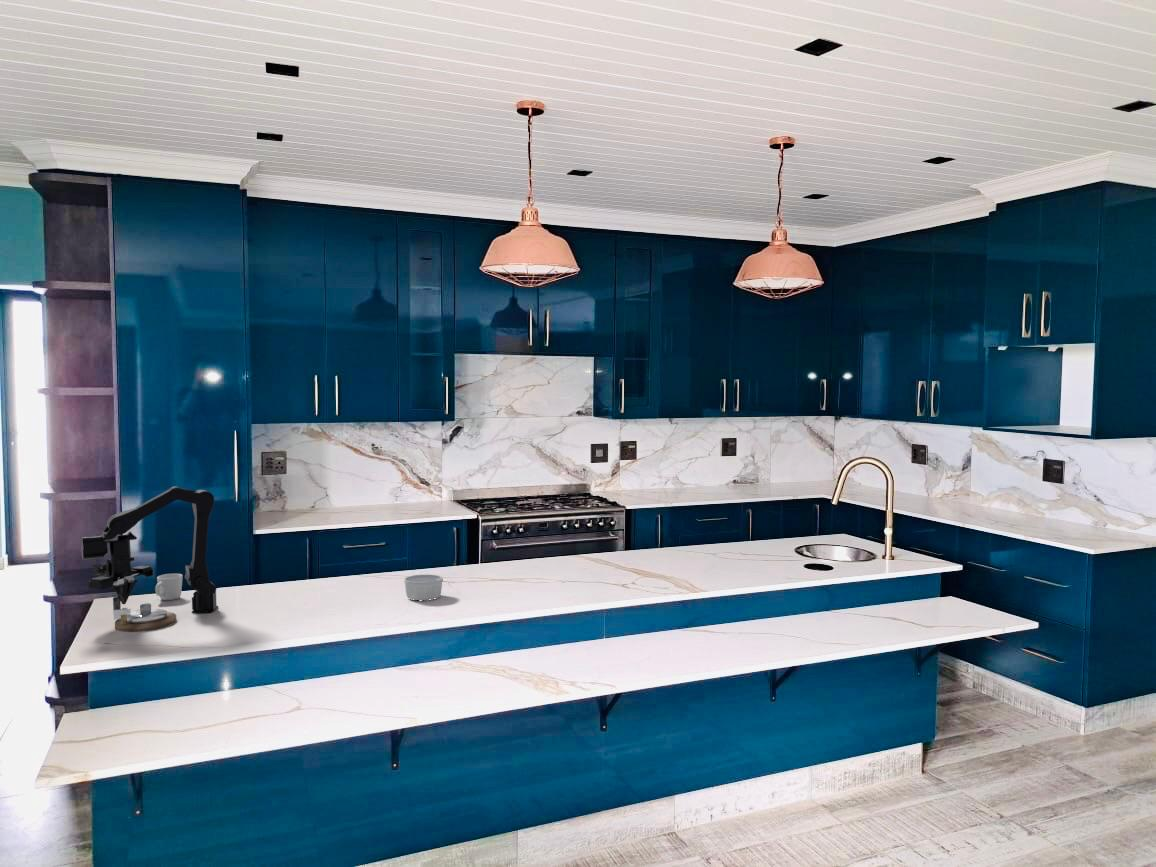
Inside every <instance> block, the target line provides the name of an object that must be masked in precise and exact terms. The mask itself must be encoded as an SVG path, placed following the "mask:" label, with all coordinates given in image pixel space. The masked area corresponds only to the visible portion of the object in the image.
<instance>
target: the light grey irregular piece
mask: <svg viewBox="0 0 1156 867" xmlns="http://www.w3.org/2000/svg"><path fill="white" fill-rule="evenodd" d="M121 606H122V603H121V601H120V597H119V596H118V595H117V596H113V597H112V610H113V611H112V612H113V613H112V614H113V620H115V621H116V620H118V619H121V615H127V623H149V622H154V621H158V620H162V619H164V618H166V617H167V612H168V610H165V609H162V608H161V609H160V608H155V609H154V608H152V604H151V603H149V602H148V603H142V604H140V605H139V610H137V611H132V612H131V607H121Z"/></svg>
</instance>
